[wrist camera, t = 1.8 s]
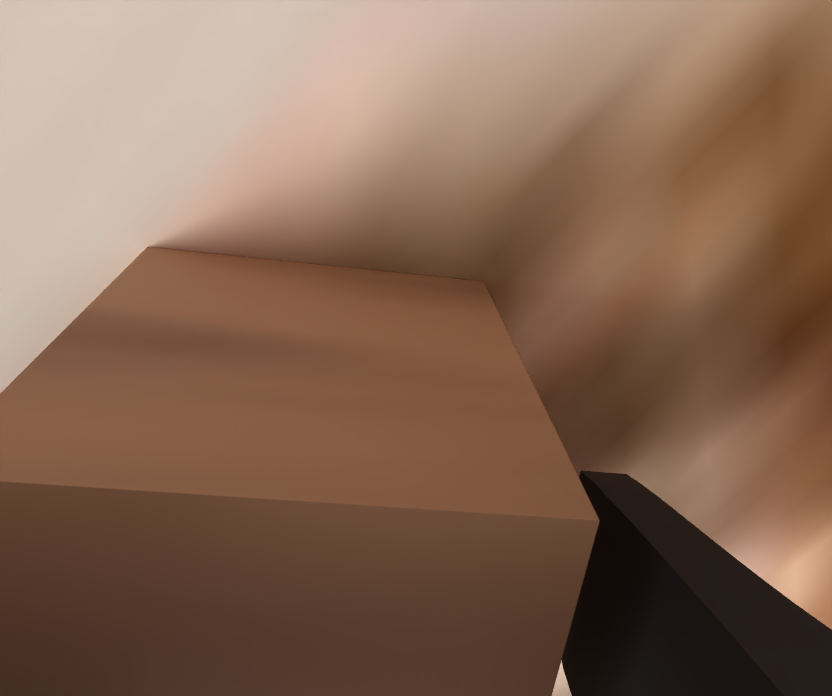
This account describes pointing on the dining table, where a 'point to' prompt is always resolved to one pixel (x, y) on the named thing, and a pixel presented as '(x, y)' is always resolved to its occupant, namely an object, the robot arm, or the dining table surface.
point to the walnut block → (284, 492)
